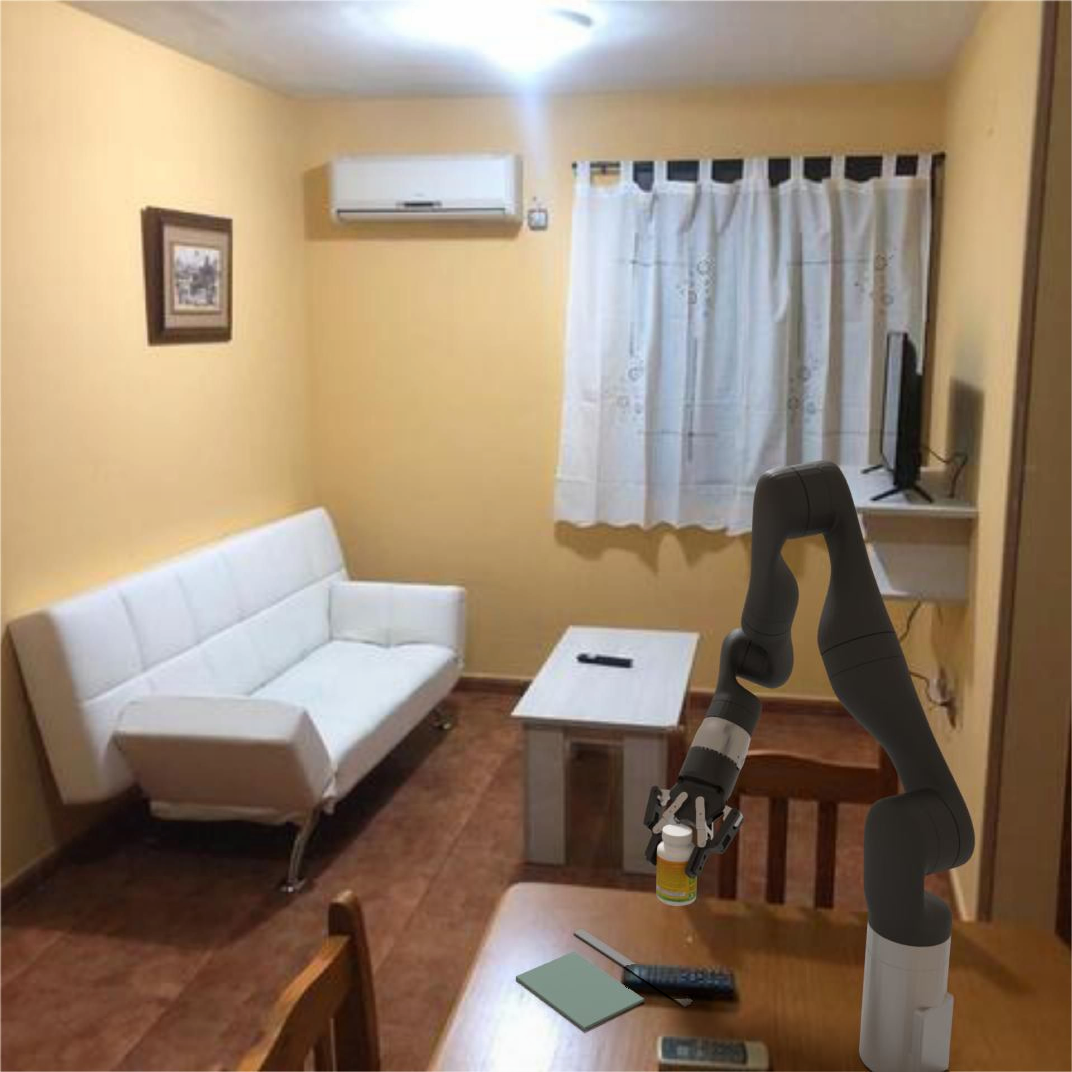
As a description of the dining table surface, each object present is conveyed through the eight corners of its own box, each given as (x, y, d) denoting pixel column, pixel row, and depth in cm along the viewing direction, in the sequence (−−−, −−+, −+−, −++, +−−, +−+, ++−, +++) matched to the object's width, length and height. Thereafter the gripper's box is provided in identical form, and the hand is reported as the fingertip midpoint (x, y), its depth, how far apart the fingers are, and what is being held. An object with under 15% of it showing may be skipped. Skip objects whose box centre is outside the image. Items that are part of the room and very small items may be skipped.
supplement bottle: (694, 908, 154) (696, 840, 152) (654, 905, 155) (655, 836, 153) (697, 889, 159) (699, 822, 157) (658, 886, 160) (659, 819, 158)
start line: (692, 1002, 148) (692, 1000, 148) (684, 1007, 147) (684, 1004, 147) (581, 930, 165) (581, 928, 165) (573, 934, 164) (573, 932, 164)
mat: (643, 1001, 149) (643, 998, 148) (584, 1030, 143) (584, 1027, 142) (573, 954, 159) (574, 951, 159) (515, 979, 153) (515, 976, 153)
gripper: (661, 734, 163) (613, 844, 156) (754, 756, 155) (708, 874, 147) (680, 758, 168) (634, 866, 161) (770, 781, 160) (727, 896, 153)
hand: (670, 869), depth 154 cm, fingers closed on supplement bottle, 5 cm apart
